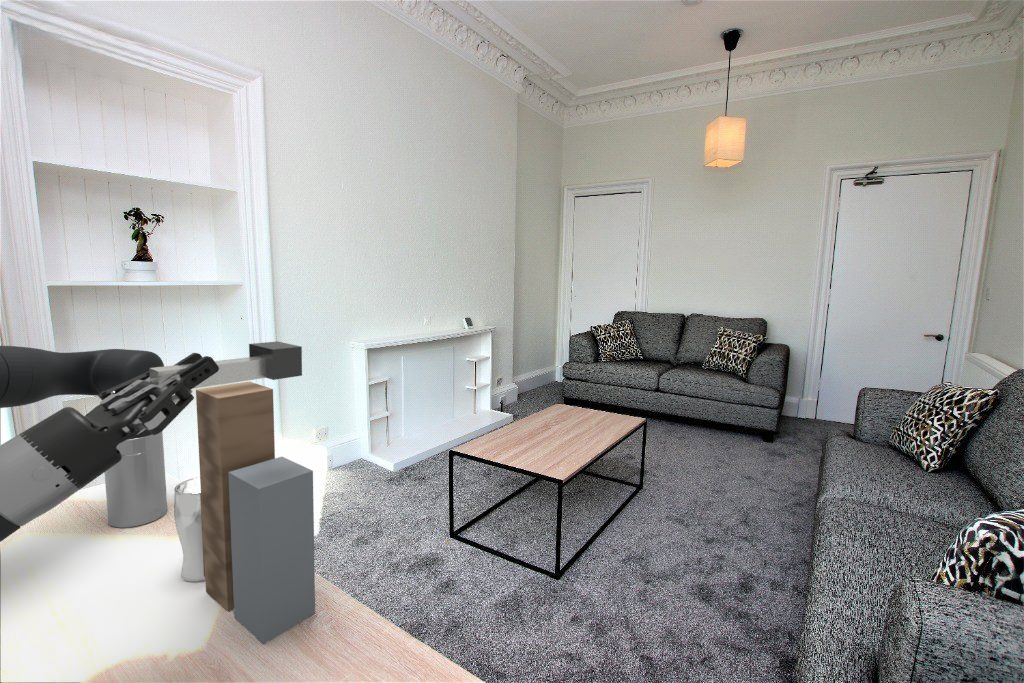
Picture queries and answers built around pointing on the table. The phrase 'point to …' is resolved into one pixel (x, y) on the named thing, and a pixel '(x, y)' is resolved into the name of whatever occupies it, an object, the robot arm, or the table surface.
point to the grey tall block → (272, 546)
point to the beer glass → (190, 528)
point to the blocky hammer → (246, 365)
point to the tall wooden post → (228, 467)
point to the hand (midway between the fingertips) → (207, 360)
